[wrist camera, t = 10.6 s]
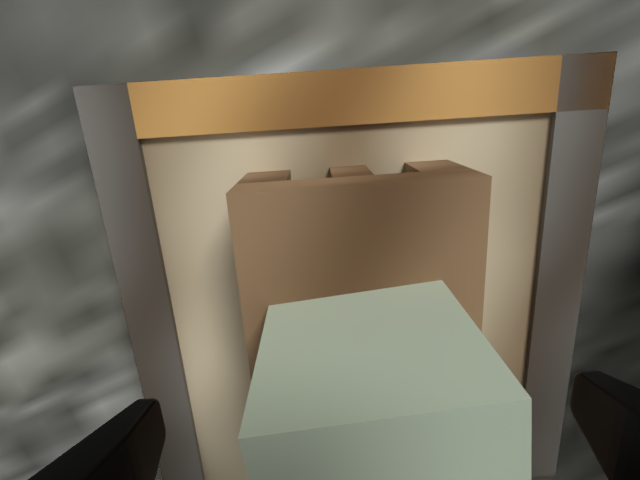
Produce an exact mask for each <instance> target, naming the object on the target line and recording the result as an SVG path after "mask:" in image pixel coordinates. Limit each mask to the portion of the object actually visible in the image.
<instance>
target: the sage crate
mask: <svg viewBox="0 0 640 480" xmlns="http://www.w3.org/2000/svg"><path fill="white" fill-rule="evenodd" d="M238 441H239V445H240V449H241V452H242V456H243V460H244V463H245V467H246V471H247V474H248V478H249V480H531V441H532V398H531V397H530V396H529V394H528V393H527V392H526V390H525V389H524V388H523V386H522V385H521V384H520V383H519V381H518V380H517V379H516V377H515V376H514V375H513V373H512V372H511V371H510V369H509V368H508V367H507V365H506V364H505V363H504V361H503V360H502V359H501V357H500V356H499V355H498V353H497V352H496V351H495V349H494V348H493V347H492V345H491V344H490V343H489V341H488V340H487V339H486V337H485V336H484V335H483V333H482V332H481V331H480V329H479V328H478V327H477V325H476V324H475V323H474V321H473V320H472V319H471V318H470V316H469V315H468V314H467V312H466V311H465V310H464V308H463V307H462V306H461V304H460V303H459V302H458V300H457V299H456V298H455V296H454V295H453V294H452V292H451V291H450V290H449V288H448V287H447V286H446V284H445V283H444V282H443V280H438V281H431V282H425V283H418V284H411V285H404V286H398V287H391V288H384V289H377V290H371V291H364V292H357V293H350V294H344V295H337V296H330V297H324V298H317V299H310V300H303V301H297V302H290V303H283V304H276V305H270V306H268V310H267V315H266V319H265V323H264V328H263V332H262V337H261V341H260V345H259V350H258V354H257V358H256V363H255V367H254V371H253V376H252V380H251V384H250V389H249V393H248V397H247V402H246V406H245V410H244V415H243V419H242V423H241V428H240V432H239V437H238Z"/></svg>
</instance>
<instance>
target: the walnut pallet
mask: <svg viewBox="0 0 640 480" xmlns="http://www.w3.org/2000/svg"><path fill="white" fill-rule="evenodd" d="M491 183H492V176H490V175H487V174H485V173H482V172H479V171H477V170H474V169H471V168H469V167H466V166H463V165H461V164H458V163H455V162H453V161H450V160H434V161H418V162H405V173H394V174H378V175H374V174H373V173H372V172H371V171H370V170H369V169H368V167H367V166H366V165H357V166H342V167H330V178H317V179H302V180H291V172H290V170H281V171H266V172H250V173H247V174H246V175H245V176H244V177H243V178H242V179H240V180H239V181H238V182H237V183H236V184H235V185H234V186H233V187H232V188H231V189H230V190H229V191H228V192H227V193H226V200H227V207H228V215H229V222H230V230H231V237H232V244H233V252H234V259H235V267H236V274H237V281H238V289H239V296H240V304H241V311H242V318H243V326H244V333H245V341H246V348H247V355H248V363H249V370H250V378H251V380H252V376H253V371H254V367H255V363H256V358H257V354H258V350H259V345H260V341H261V337H262V332H263V328H264V323H265V319H266V315H267V310H268V306H270V305H276V304H283V303H290V302H297V301H303V300H310V299H317V298H324V297H330V296H337V295H344V294H350V293H357V292H364V291H371V290H377V289H384V288H391V287H398V286H404V285H411V284H418V283H425V282H431V281H438V280H443V282H444V283H445V284H446V286H447V287H448V288H449V290H450V291H451V292H452V294H453V295H454V296H455V298H456V299H457V300H458V302H459V303H460V304H461V306H462V307H463V308H464V310H465V311H466V312H467V314H468V315H469V316H470V318H471V319H472V320H473V321H474V323H475V324H476V325H477V327H478V328H479V329H480V331H481V332H482V322H483V307H484V291H485V276H486V260H487V245H488V230H489V214H490V199H491Z"/></svg>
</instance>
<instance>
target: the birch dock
mask: <svg viewBox="0 0 640 480" xmlns="http://www.w3.org/2000/svg"><path fill="white" fill-rule="evenodd" d="M616 57H617V51H613V52H598V53H583V54H567V55H552V56H536V57H521V58H505V59H490V60H475V61H459V62H444V63H428V64H413V65H397V66H382V67H367V68H351V69H336V70H320V71H305V72H290V73H274V74H259V75H243V76H228V77H212V78H197V79H182V80H166V81H151V82H135V83H120V84H105V85H89V86H74V87H73V91H74V95H75V99H76V104H77V108H78V113H79V117H80V121H81V126H82V130H83V134H84V139H85V143H86V147H87V152H88V156H89V160H90V165H91V169H92V173H93V178H94V182H95V186H96V191H97V195H98V199H99V204H100V208H101V212H102V217H103V221H104V225H105V230H106V234H107V239H108V243H109V247H110V252H111V256H112V260H113V265H114V269H115V273H116V278H117V282H118V286H119V291H120V295H121V299H122V304H123V308H124V312H125V317H126V321H127V325H128V330H129V334H130V338H131V343H132V347H133V351H134V356H135V360H136V365H137V369H138V373H139V378H140V382H141V386H142V391H143V395H144V399H149V398H156V399H158V400H159V402H160V405H161V410H162V414H163V419H164V423H165V428H166V438H165V443H164V447H163V450H162V454H161V458H160V462H159V464H160V469H161V473H162V477H163V480H249V478H248V474H247V471H246V467H245V463H244V460H243V456H242V452H241V449H240V445H239V441H238V437H239V432H240V428H241V423H242V419H243V415H244V410H245V406H246V402H247V397H248V393H249V389H250V384H251V378H250V370H249V363H248V355H247V348H246V341H245V333H244V326H243V318H242V311H241V304H240V296H239V289H238V281H237V274H236V267H235V259H234V252H233V244H232V237H231V230H230V222H229V215H228V207H227V200H226V193H227V192H228V191H229V190H230V189H231V188H232V187H233V186H234V185H235V184H236V183H237V182H238V181H239V180H240V179H242V178H243V177H244V176H245V175H246V174H247V173H250V172H266V171H281V170H290V172H291V180H302V179H317V178H330V167H342V166H357V165H366V166H367V167H368V169H369V170H370V171H371V172H372V173H373V174H374V175H378V174H394V173H405V162H418V161H434V160H450V161H453V162H455V163H458V164H461V165H463V166H466V167H469V168H471V169H474V170H477V171H479V172H482V173H485V174H487V175H490V176H492V183H491V199H490V214H489V230H488V245H487V260H486V276H485V291H484V307H483V322H482V333H483V335H484V336H485V337H486V339H487V340H488V341H489V343H490V344H491V345H492V347H493V348H494V349H495V351H496V352H497V353H498V355H499V356H500V357H501V359H502V360H503V361H504V363H505V364H506V365H507V367H508V368H509V369H510V371H511V372H512V373H513V375H514V376H515V377H516V379H517V380H518V381H519V383H520V384H521V385H522V386H523V388H524V389H525V390H526V392H527V393H528V394H529V396H530V397H531V398H532V441H531V477H544V476H555V474H556V467H557V461H558V454H559V447H560V440H561V433H562V426H563V420H564V413H565V406H566V399H567V392H568V385H569V379H570V372H571V365H572V358H573V351H574V344H575V338H576V331H577V324H578V317H579V310H580V303H581V297H582V290H583V283H584V276H585V269H586V262H587V256H588V249H589V242H590V235H591V228H592V221H593V215H594V208H595V201H596V194H597V187H598V180H599V174H600V167H601V160H602V153H603V146H604V139H605V133H606V126H607V119H608V112H609V105H610V98H611V92H612V85H613V78H614V71H615V64H616Z"/></svg>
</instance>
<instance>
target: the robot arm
mask: <svg viewBox="0 0 640 480" xmlns="http://www.w3.org/2000/svg"><path fill="white" fill-rule="evenodd" d="M570 408H571V412H572V415H573V417H574V418H575V420H576V422H577V424H578V426H579V427H580V429H581V431H582V433H583V435H584V436H585V438H586V440H587V442H588V444H589V446H590V447H591V449H592V451H593V453H594V455H595V456H596V458H597V460H598V462H599V464H600V465H601V467H602V469H603V471H604V473H605V474H606V476H607V478H608V479H609V480H640V389H638V388H636V387H634V386H632V385H629V384H627V383H625V382H622V381H620V380H618V379H616V378H613V377H611V376H609V375H606V374H604V373H602V372H599V371H595V370H592V371H579V372H577V373H576V374H575V375H574V379H573V386H572V393H571V399H570ZM165 438H166V428H165V423H164V419H163V414H162V410H161V405H160V402H159V400H158V399H156V398H149V399H139V400H137V401H135V402H134V403H132V404H131V405H130V406H128V407H127V408H125V409H124V410H123V411H121V412H120V413H119V414H117V415H116V416H114V417H113V418H112V419H110V420H109V421H108V422H106V423H105V424H103V425H102V426H101V427H99V428H98V429H97V430H95V431H94V432H93V433H91V434H90V435H88V436H87V437H86V438H84V439H83V440H82V441H80V442H79V443H77V444H76V445H75V446H73V447H72V448H71V449H69V450H68V451H66V452H65V453H64V454H62V455H61V456H60V457H58V458H57V459H55V460H54V461H53V462H51V463H50V464H49V465H47V466H46V467H44V468H43V469H42V470H40V471H39V472H38V473H36V474H35V475H34V476H32V477H31V478H29V479H28V480H155V477H156V473H157V469H158V466H159V462H160V458H161V454H162V450H163V447H164V443H165Z"/></svg>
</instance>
